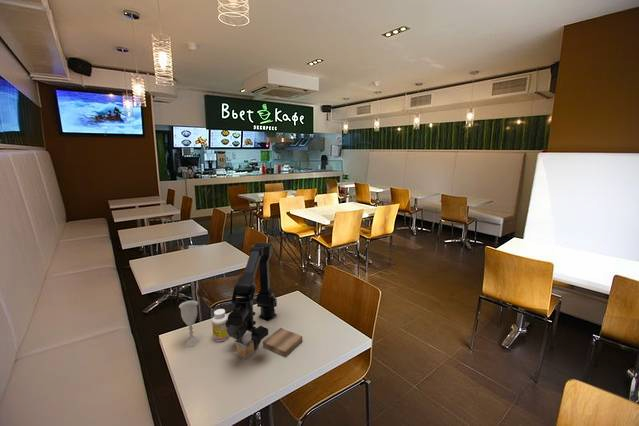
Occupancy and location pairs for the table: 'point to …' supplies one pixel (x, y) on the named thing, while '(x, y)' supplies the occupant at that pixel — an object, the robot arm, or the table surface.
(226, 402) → the table surface
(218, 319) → the supplement bottle
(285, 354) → the walnut stand
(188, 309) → the chalice
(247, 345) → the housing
